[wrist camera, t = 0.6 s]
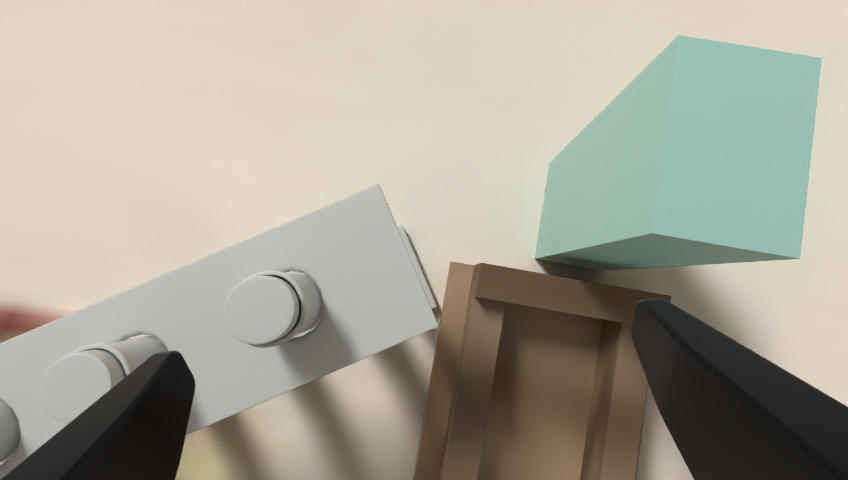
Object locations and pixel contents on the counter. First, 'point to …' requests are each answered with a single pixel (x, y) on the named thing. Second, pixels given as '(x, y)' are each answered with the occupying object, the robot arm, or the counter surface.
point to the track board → (533, 380)
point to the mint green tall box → (689, 164)
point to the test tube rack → (228, 323)
